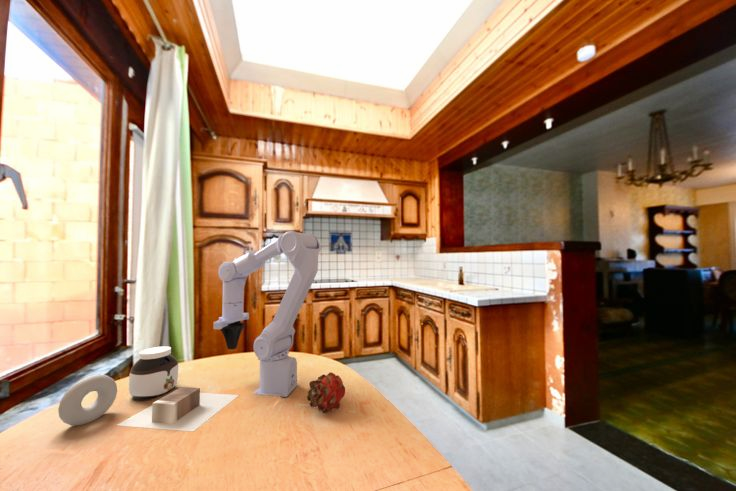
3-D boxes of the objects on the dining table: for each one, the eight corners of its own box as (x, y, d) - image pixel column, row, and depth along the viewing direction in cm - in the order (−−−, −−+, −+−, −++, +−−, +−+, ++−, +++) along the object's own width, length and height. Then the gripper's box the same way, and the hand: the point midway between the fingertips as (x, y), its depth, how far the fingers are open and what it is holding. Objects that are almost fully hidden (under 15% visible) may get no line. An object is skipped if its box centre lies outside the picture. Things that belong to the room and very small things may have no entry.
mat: (239, 397, 74) (239, 395, 74) (193, 433, 58) (193, 431, 58) (176, 393, 76) (176, 391, 76) (115, 427, 60) (116, 425, 60)
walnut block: (200, 388, 69) (173, 404, 61) (199, 405, 69) (172, 423, 61) (181, 387, 70) (152, 403, 62) (180, 403, 69) (151, 422, 61)
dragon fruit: (312, 429, 62) (331, 410, 73) (343, 407, 61) (357, 391, 73) (293, 392, 64) (315, 379, 76) (323, 371, 64) (340, 361, 75)
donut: (62, 437, 57) (65, 386, 58) (52, 434, 58) (55, 384, 59) (120, 412, 66) (122, 368, 67) (110, 410, 68) (112, 367, 68)
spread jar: (143, 406, 69) (145, 357, 70) (113, 399, 73) (115, 353, 74) (188, 385, 81) (190, 344, 82) (160, 380, 84) (161, 340, 85)
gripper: (235, 299, 93) (234, 341, 92) (203, 305, 78) (202, 356, 78) (255, 299, 92) (254, 342, 91) (227, 306, 77) (226, 357, 77)
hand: (232, 348), depth 84 cm, fingers closed
